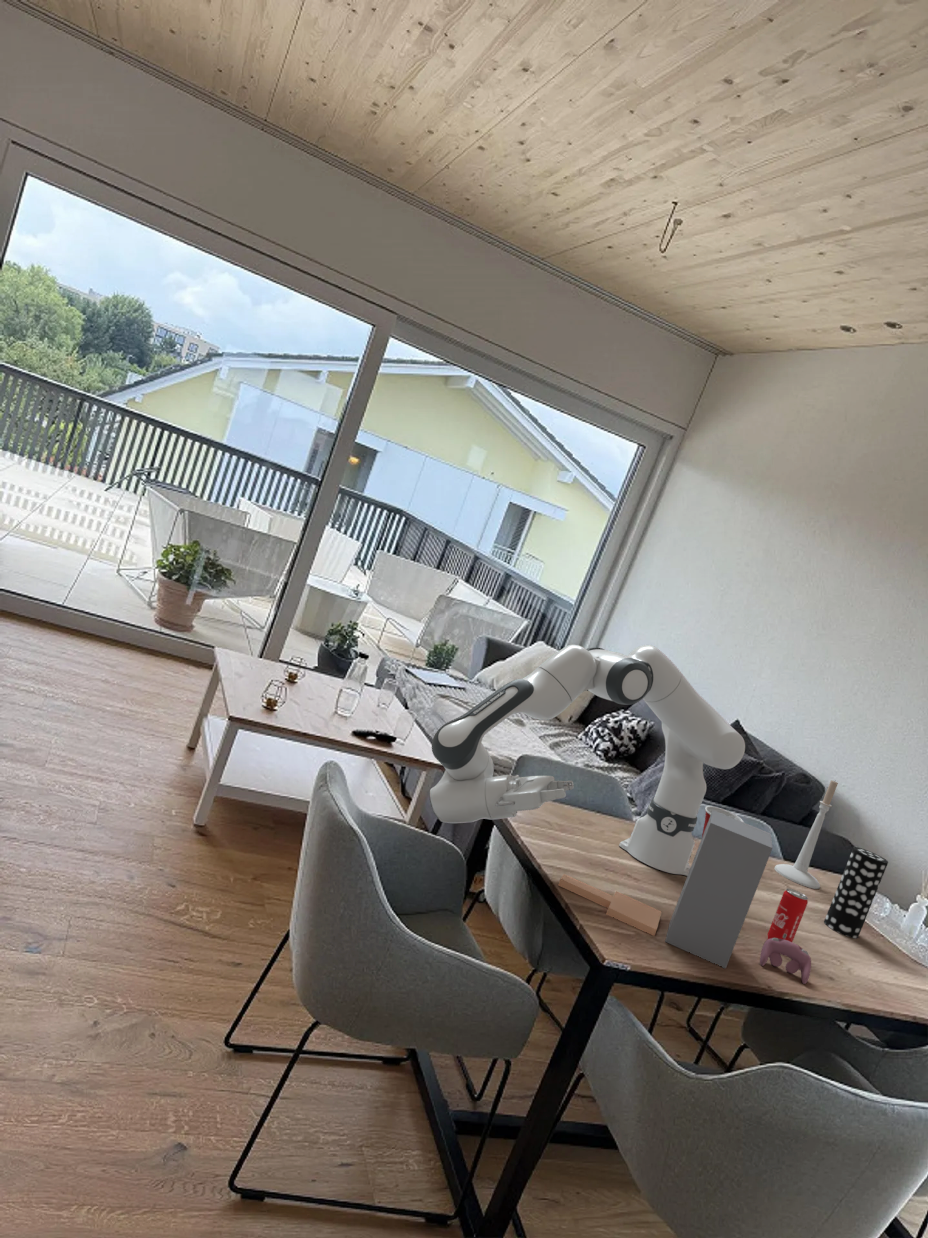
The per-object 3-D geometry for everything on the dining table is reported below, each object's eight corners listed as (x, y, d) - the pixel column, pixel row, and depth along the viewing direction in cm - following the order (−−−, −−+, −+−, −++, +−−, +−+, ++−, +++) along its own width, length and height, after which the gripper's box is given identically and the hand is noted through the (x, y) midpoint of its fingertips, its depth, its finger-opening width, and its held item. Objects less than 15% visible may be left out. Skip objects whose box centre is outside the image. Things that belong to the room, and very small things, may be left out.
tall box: (670, 921, 197) (712, 810, 195) (726, 946, 194) (770, 833, 191) (665, 941, 184) (710, 822, 182) (725, 969, 181) (772, 848, 179)
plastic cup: (685, 846, 262) (700, 806, 261) (697, 842, 271) (712, 803, 270) (721, 864, 256) (737, 823, 255) (733, 860, 265) (748, 820, 264)
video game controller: (803, 987, 191) (813, 953, 193) (808, 985, 187) (818, 951, 189) (754, 965, 193) (765, 932, 196) (758, 963, 189) (769, 929, 192)
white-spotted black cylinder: (843, 937, 229) (874, 860, 227) (817, 919, 236) (846, 845, 234) (865, 939, 233) (895, 864, 231) (838, 922, 240) (867, 849, 238)
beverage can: (791, 953, 203) (811, 902, 202) (767, 944, 204) (787, 893, 203) (787, 944, 208) (807, 894, 207) (764, 935, 209) (783, 885, 208)
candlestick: (799, 872, 279) (836, 776, 276) (828, 892, 267) (868, 793, 264) (765, 863, 274) (803, 767, 271) (793, 884, 262) (833, 783, 259)
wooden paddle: (564, 875, 203) (567, 869, 202) (659, 918, 197) (661, 911, 197) (554, 890, 191) (557, 884, 191) (654, 936, 186) (656, 929, 185)
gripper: (489, 790, 190) (557, 782, 187) (513, 774, 210) (574, 766, 206) (494, 821, 190) (562, 814, 186) (517, 802, 210) (579, 795, 206)
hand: (569, 788), depth 196 cm, fingers open, 8 cm apart
